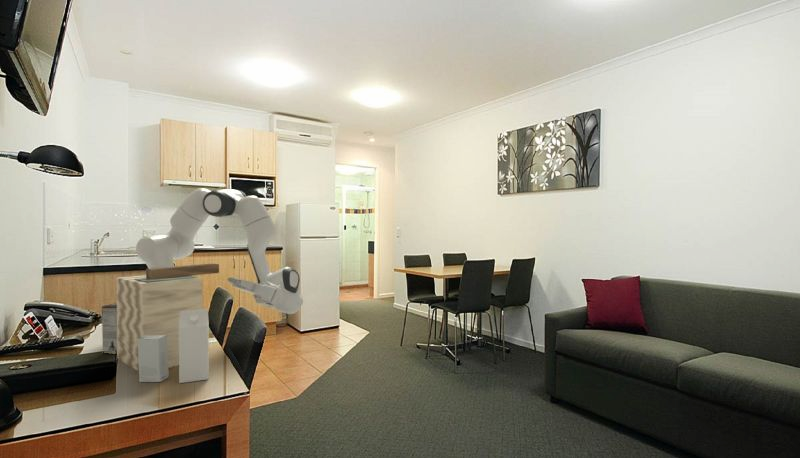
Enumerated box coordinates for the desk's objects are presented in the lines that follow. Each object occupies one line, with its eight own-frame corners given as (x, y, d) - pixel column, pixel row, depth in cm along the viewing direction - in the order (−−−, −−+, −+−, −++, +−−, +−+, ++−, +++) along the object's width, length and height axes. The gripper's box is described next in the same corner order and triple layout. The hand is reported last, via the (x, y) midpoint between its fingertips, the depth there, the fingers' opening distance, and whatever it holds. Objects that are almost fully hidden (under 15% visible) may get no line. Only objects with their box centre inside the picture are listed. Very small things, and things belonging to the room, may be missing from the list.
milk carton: (181, 375, 118) (180, 308, 118) (208, 371, 121) (208, 306, 121) (179, 383, 112) (178, 313, 111) (208, 379, 114) (207, 311, 114)
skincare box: (169, 377, 117) (168, 334, 117) (159, 383, 112) (159, 338, 112) (147, 377, 117) (147, 334, 117) (137, 383, 112) (136, 338, 112)
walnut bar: (146, 278, 127) (146, 268, 127) (213, 272, 144) (213, 263, 144) (151, 279, 125) (151, 269, 125) (218, 273, 141) (218, 264, 141)
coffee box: (125, 346, 147) (124, 300, 147) (140, 347, 145) (140, 301, 145) (101, 354, 138) (101, 305, 138) (117, 355, 136) (117, 306, 136)
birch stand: (117, 358, 133) (116, 276, 133) (173, 346, 146) (172, 271, 146) (143, 374, 119) (142, 282, 119) (202, 359, 132) (202, 276, 132)
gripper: (255, 282, 166) (225, 269, 157) (283, 289, 152) (252, 276, 143) (248, 296, 164) (217, 285, 155) (276, 305, 150) (244, 293, 141)
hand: (234, 280), depth 149 cm, fingers open, 8 cm apart
